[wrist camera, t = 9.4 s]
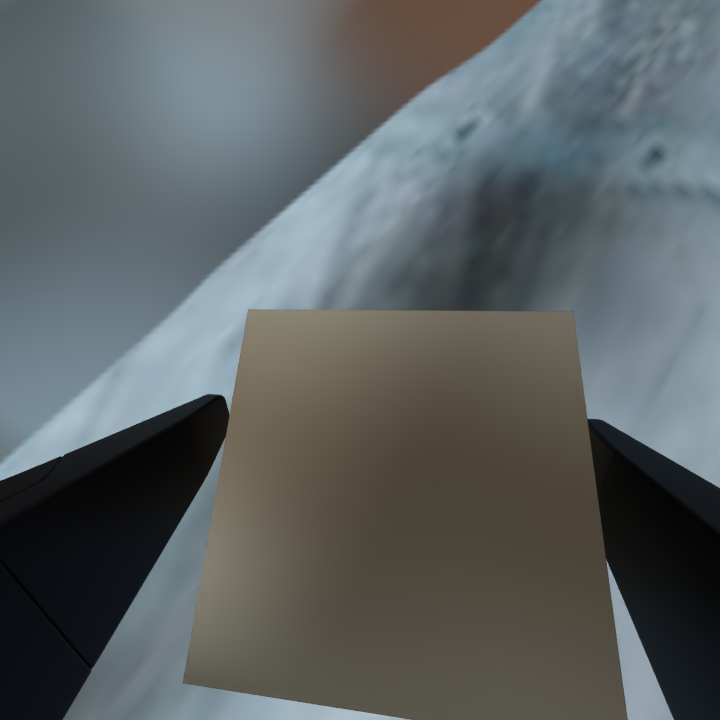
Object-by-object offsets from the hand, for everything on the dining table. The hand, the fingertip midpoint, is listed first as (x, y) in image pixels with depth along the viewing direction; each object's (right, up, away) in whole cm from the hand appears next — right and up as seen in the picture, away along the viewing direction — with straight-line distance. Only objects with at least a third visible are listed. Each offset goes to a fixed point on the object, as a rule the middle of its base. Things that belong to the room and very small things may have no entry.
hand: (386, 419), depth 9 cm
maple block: (+1, -4, +8) cm, 9 cm away
